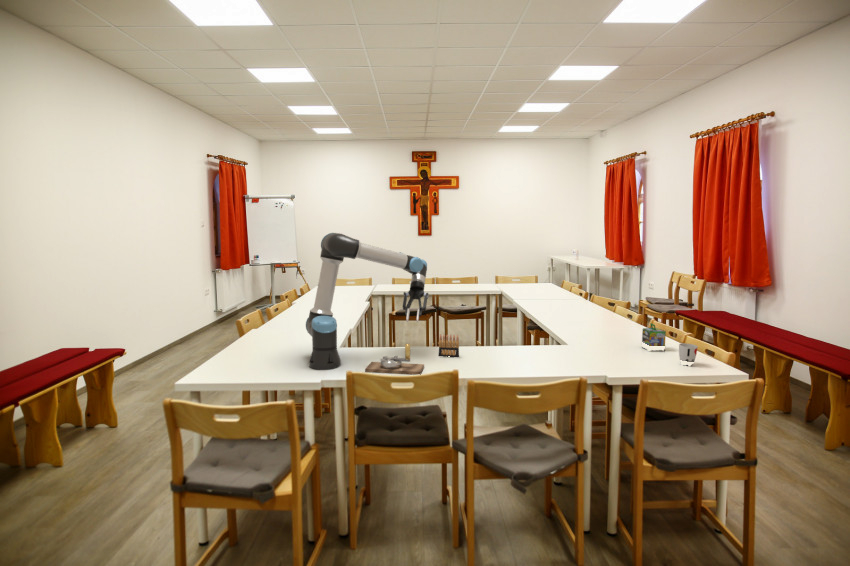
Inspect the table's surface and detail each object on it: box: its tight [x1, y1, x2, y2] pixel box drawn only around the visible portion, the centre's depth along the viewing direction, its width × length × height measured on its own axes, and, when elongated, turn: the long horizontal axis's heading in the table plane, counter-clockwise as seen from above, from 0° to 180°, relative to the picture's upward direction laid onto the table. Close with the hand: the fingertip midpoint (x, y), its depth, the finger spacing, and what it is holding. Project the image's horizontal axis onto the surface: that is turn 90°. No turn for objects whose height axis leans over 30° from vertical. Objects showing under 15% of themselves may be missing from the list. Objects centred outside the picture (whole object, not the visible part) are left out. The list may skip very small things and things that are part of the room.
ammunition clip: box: [437, 333, 460, 358], centre depth 248 cm, size 11×2×12 cm, turn 82°
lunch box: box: [641, 322, 667, 347], centre depth 266 cm, size 9×9×15 cm
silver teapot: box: [379, 343, 411, 369], centre depth 224 cm, size 14×10×11 cm
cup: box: [678, 342, 698, 363], centre depth 237 cm, size 8×8×10 cm
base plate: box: [364, 361, 425, 375], centre depth 225 cm, size 26×12×2 cm, turn 82°
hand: (412, 320), depth 240 cm, fingers open, 4 cm apart
